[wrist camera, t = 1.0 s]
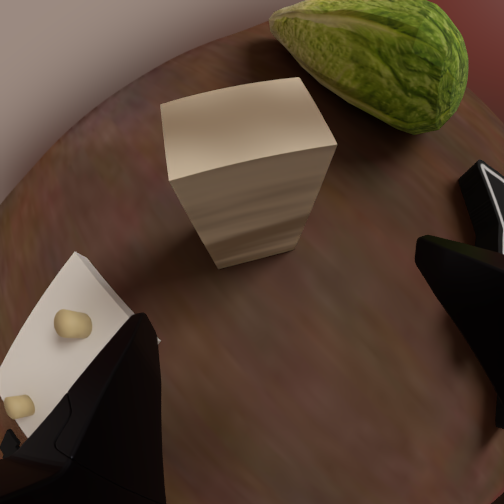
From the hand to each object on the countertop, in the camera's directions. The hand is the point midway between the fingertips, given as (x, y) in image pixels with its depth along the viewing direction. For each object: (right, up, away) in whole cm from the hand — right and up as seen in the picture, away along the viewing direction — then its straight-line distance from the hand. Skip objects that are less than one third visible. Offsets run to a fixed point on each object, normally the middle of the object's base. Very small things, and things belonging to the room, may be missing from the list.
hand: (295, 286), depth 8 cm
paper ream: (-1, +2, +14) cm, 14 cm away
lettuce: (+11, +22, +20) cm, 32 cm away
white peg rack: (-18, -9, +11) cm, 23 cm away
